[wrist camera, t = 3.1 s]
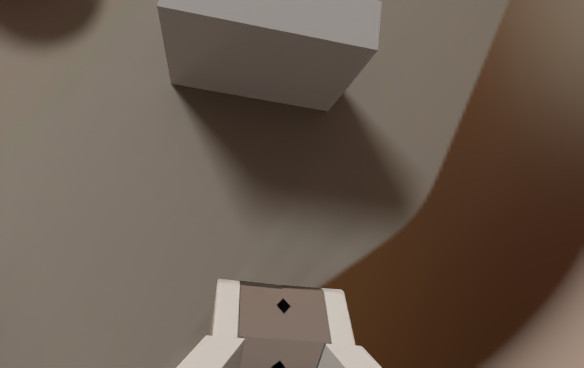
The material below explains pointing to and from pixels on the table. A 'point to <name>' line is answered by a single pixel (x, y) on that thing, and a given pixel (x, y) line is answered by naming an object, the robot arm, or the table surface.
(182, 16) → the tile
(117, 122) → the table surface
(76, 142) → the table surface
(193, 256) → the table surface
